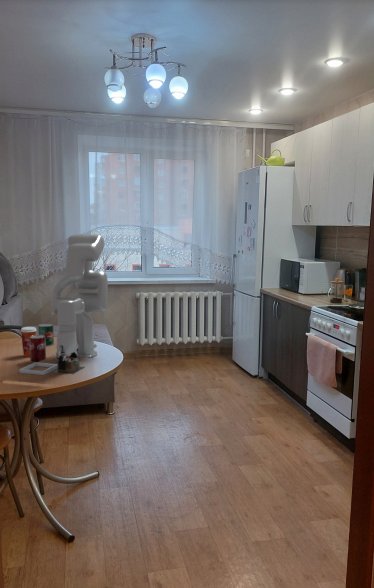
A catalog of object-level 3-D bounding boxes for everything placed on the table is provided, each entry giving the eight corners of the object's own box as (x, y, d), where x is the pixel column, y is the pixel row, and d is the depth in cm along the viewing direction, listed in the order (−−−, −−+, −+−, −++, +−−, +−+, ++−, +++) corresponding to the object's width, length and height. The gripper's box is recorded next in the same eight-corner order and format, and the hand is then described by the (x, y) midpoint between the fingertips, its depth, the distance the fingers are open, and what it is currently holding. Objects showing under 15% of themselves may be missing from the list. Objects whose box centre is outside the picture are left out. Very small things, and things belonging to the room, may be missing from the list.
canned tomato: (40, 343, 263) (40, 323, 262) (55, 342, 264) (54, 323, 263) (37, 346, 256) (36, 326, 254) (52, 346, 256) (51, 326, 255)
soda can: (47, 359, 230) (47, 334, 228) (43, 363, 223) (42, 338, 221) (32, 359, 230) (31, 335, 228) (28, 363, 222) (27, 338, 221)
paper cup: (25, 358, 231) (24, 330, 229) (19, 355, 237) (17, 327, 235) (40, 355, 236) (39, 328, 234) (34, 352, 242) (33, 325, 240)
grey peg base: (63, 367, 215) (63, 355, 214) (85, 369, 212) (85, 356, 212) (50, 374, 205) (50, 361, 204) (73, 376, 202) (73, 363, 201)
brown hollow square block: (65, 366, 213) (65, 357, 212) (81, 368, 210) (81, 358, 210) (57, 370, 206) (57, 361, 205) (73, 372, 204) (73, 362, 203)
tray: (35, 367, 215) (35, 362, 215) (58, 369, 212) (58, 364, 212) (19, 375, 204) (19, 369, 203) (43, 377, 201) (43, 371, 200)
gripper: (69, 324, 215) (70, 361, 217) (48, 331, 199) (49, 371, 200) (84, 325, 213) (85, 362, 215) (64, 332, 197) (65, 372, 198)
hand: (68, 366), depth 208 cm, fingers open, 9 cm apart
